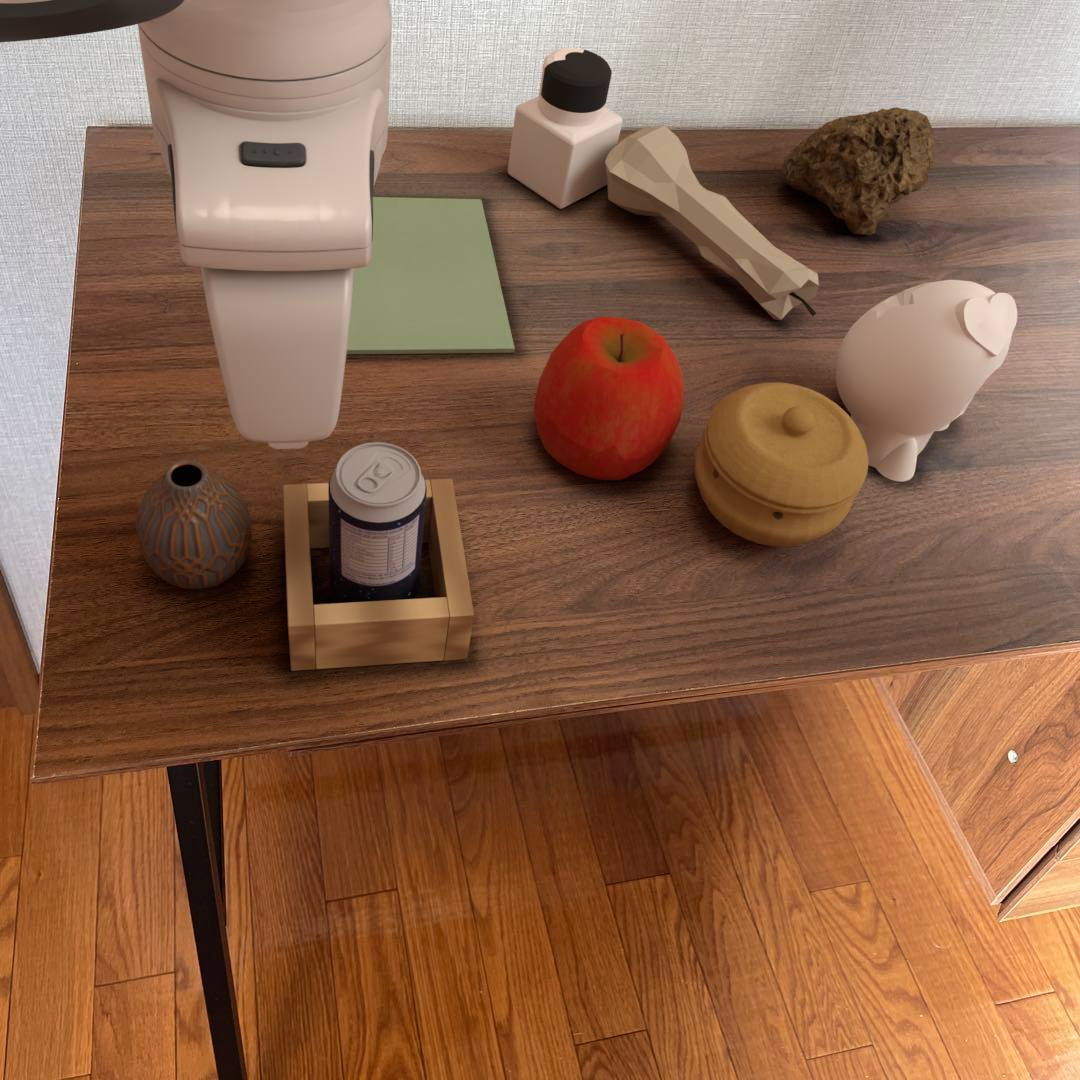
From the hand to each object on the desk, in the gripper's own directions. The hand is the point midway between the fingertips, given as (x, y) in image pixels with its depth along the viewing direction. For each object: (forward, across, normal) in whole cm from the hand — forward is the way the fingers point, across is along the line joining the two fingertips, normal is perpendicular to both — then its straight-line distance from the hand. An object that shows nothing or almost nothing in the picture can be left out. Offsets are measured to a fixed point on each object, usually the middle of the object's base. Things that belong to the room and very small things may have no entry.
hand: (285, 364), depth 52 cm
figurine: (+23, -17, +47) cm, 55 cm away
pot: (+23, -9, +34) cm, 42 cm away
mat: (+23, -36, +8) cm, 43 cm away
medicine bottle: (+23, -50, +26) cm, 61 cm away
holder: (+23, -3, +5) cm, 24 cm away
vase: (+23, -6, -6) cm, 25 cm away
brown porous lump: (+23, -46, +55) cm, 75 cm away
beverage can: (+23, -3, +5) cm, 24 cm away
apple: (+23, -16, +23) cm, 36 cm away
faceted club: (+23, -38, +37) cm, 58 cm away
